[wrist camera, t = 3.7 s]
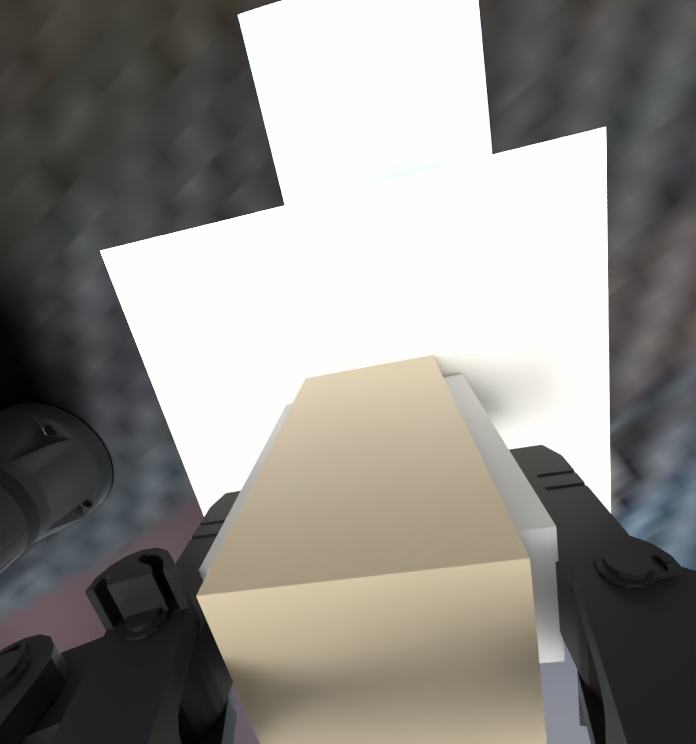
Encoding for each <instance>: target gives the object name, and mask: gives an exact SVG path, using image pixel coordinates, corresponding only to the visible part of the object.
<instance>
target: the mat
mask: <svg viewBox="0 0 696 744" xmlns="http://www.w3.org/2000/svg"><path fill="white" fill-rule="evenodd" d="M238 17H239V21H240V25H241V29H242V33H243V37H244V42H245V46H246V50H247V54H248V58H249V62H250V66H251V70H252V74H253V78H254V82H255V86H256V90H257V94H258V98H259V103H260V107H261V111H262V115H263V119H264V123H265V127H266V131H267V135H268V139H269V143H270V147H271V151H272V155H273V159H274V163H275V168H276V172H277V176H278V180H279V184H280V188H281V192H282V196H283V200H284V204H285V205H289V204H293V203H297V202H301V201H306V200H310V199H314V198H318V197H322V196H326V195H330V194H334V193H338V192H342V191H346V190H350V189H354V188H359V187H363V186H367V185H371V184H375V183H379V182H383V181H387V180H391V179H395V178H399V177H403V176H407V175H412V174H416V173H420V172H424V171H428V170H432V169H436V168H440V167H444V166H448V165H452V164H456V163H461V162H465V161H469V160H473V159H477V158H481V157H485V156H489V155H492V145H491V134H490V123H489V112H488V101H487V90H486V79H485V68H484V57H483V46H482V35H481V24H480V13H479V2H478V0H282V1H279V2H276V3H272V4H269V5H266V6H263V7H260V8H257V9H254V10H251V11H248V12H245V13H242V14H238Z"/></svg>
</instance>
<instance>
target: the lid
mask: <svg viewBox="0 0 696 744" xmlns="http://www.w3.org/2000/svg"><path fill="white" fill-rule="evenodd" d="M100 252H101V255H102V257H103V260H104V262H105V265H106V268H107V270H108V273H109V275H110V278H111V280H112V283H113V285H114V288H115V291H116V293H117V296H118V298H119V301H120V303H121V306H122V308H123V311H124V313H125V316H126V319H127V321H128V324H129V326H130V329H131V331H132V334H133V336H134V339H135V342H136V344H137V347H138V349H139V352H140V354H141V357H142V359H143V362H144V364H145V367H146V370H147V372H148V375H149V377H150V380H151V382H152V385H153V387H154V390H155V393H156V395H157V398H158V400H159V403H160V405H161V408H162V410H163V413H164V415H165V418H166V421H167V423H168V426H169V428H170V431H171V433H172V436H173V438H174V441H175V444H176V446H177V449H178V451H179V454H180V456H181V459H182V461H183V464H184V466H185V469H186V472H187V474H188V477H189V479H190V482H191V484H192V487H193V489H194V492H195V494H196V497H197V500H198V502H199V505H200V507H201V510H202V512H203V515H204V516H205V515H206V513H207V512H208V510H209V508H210V507H211V506H212V505H213V504H214V503H215V502H216V501H218V500H219V499H220V498H221V497H222V496H223V495H224V494H225V493H229V492H235V491H241V489H242V488H243V486H244V484H245V482H246V480H247V478H248V476H249V474H250V472H251V471H252V469H253V467H254V465H255V463H256V461H257V459H258V457H259V455H260V454H261V452H262V450H263V448H264V446H265V444H266V442H267V440H268V438H269V437H270V435H271V433H272V431H273V429H274V427H275V425H276V423H277V421H278V420H279V418H280V416H281V414H282V412H283V410H284V408H285V406H286V405H289V404H292V406H291V408H290V410H289V412H288V414H287V416H286V418H285V420H284V422H283V424H282V426H281V428H280V430H279V432H278V434H277V436H276V438H275V440H274V442H273V444H272V446H271V448H270V450H269V452H268V454H267V456H266V458H265V460H264V462H263V464H262V466H261V468H260V470H259V472H258V474H257V476H256V478H255V480H254V482H253V484H252V486H251V488H250V490H249V492H248V494H247V496H246V498H245V500H244V502H243V504H242V506H241V508H240V510H239V512H238V514H237V515H236V517H235V519H234V521H233V523H232V525H231V527H230V529H229V531H228V533H227V535H226V537H225V539H224V541H223V543H222V545H221V547H220V549H219V551H218V553H217V555H216V557H215V559H214V561H213V563H212V565H211V567H210V569H209V571H208V573H207V575H206V577H205V579H204V581H203V583H202V585H201V587H200V589H199V591H198V593H197V595H196V597H197V599H198V602H199V604H200V606H201V609H202V611H203V613H204V616H205V618H206V620H207V623H208V625H209V627H210V629H211V632H212V634H213V636H214V639H215V641H216V643H217V646H218V648H219V650H220V653H221V655H222V657H223V660H224V662H225V664H226V667H227V669H228V671H229V673H230V676H231V678H232V680H233V683H234V685H235V687H236V690H237V692H238V694H239V696H240V699H241V701H242V704H243V706H244V708H245V710H246V713H247V715H248V717H249V720H250V722H251V724H252V727H253V729H254V731H255V734H256V736H257V738H258V740H259V743H260V744H547V739H546V728H545V718H544V707H543V696H542V685H541V674H540V663H539V652H538V641H537V630H536V619H535V608H534V597H533V586H532V575H531V564H530V557H529V555H528V553H527V551H526V549H525V547H524V545H523V543H522V541H521V538H520V536H519V534H518V532H517V530H516V528H515V526H514V524H513V522H512V520H511V518H510V516H509V513H508V511H507V509H506V507H505V505H504V503H503V501H502V499H501V497H500V495H499V493H498V490H497V488H496V486H495V484H494V482H493V480H492V478H491V476H490V474H489V472H488V470H487V467H486V465H485V463H484V461H483V459H482V457H481V455H480V453H479V451H478V449H477V447H476V444H475V442H474V440H473V438H472V436H471V434H470V432H469V430H468V428H467V426H466V424H465V422H464V419H463V417H462V415H461V413H460V411H459V409H458V407H457V405H456V403H455V401H454V399H453V396H452V394H451V392H450V390H449V388H448V386H447V384H446V382H445V380H444V378H443V377H449V376H454V375H460V374H463V376H464V378H465V379H466V381H467V382H468V384H469V386H470V387H471V389H472V391H473V392H474V394H475V395H476V397H477V399H478V400H479V402H480V404H481V405H482V407H483V408H484V410H485V412H486V413H487V415H488V417H489V418H490V420H491V421H492V423H493V425H494V426H495V428H496V430H497V431H498V433H499V434H500V436H501V438H502V439H503V441H504V443H505V444H506V446H507V447H508V449H515V448H522V447H529V446H536V445H544V446H546V447H548V448H549V449H551V450H553V451H555V452H557V453H559V454H561V455H562V456H563V457H564V458H565V459H566V461H567V462H568V463H569V464H570V465H571V467H572V468H573V469H574V471H575V473H577V474H578V475H579V476H580V477H581V478H582V480H583V481H584V482H585V485H586V486H588V487H589V488H590V489H591V490H592V492H593V493H594V494H595V495H596V496H597V497H598V499H599V500H600V501H601V502H602V503H603V505H604V506H605V507H606V508H607V509H608V511H609V512H610V513H611V496H610V414H609V333H608V252H607V170H606V127H603V128H599V129H595V130H591V131H587V132H583V133H579V134H575V135H571V136H567V137H562V138H558V139H554V140H550V141H546V142H542V143H538V144H534V145H530V146H526V147H522V148H518V149H514V150H509V151H505V152H501V153H497V154H493V155H489V156H485V157H481V158H477V159H473V160H469V161H465V162H461V163H456V164H452V165H448V166H444V167H440V168H436V169H432V170H428V171H424V172H420V173H416V174H412V175H407V176H403V177H399V178H395V179H391V180H387V181H383V182H379V183H375V184H371V185H367V186H363V187H359V188H354V189H350V190H346V191H342V192H338V193H334V194H330V195H326V196H322V197H318V198H314V199H310V200H306V201H301V202H297V203H293V204H289V205H285V206H281V207H277V208H273V209H269V210H265V211H261V212H257V213H253V214H248V215H244V216H240V217H236V218H232V219H228V220H224V221H220V222H216V223H212V224H208V225H204V226H199V227H195V228H191V229H187V230H183V231H179V232H175V233H171V234H167V235H163V236H159V237H155V238H151V239H146V240H142V241H138V242H134V243H130V244H126V245H122V246H118V247H114V248H110V249H106V250H102V251H100Z"/></svg>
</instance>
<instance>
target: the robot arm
mask: <svg viewBox="0 0 696 744" xmlns="http://www.w3.org/2000/svg"><path fill="white" fill-rule="evenodd" d="M443 378H444V380H445V382H446V384H447V386H448V388H449V390H450V392H451V394H452V396H453V399H454V401H455V403H456V405H457V407H458V409H459V411H460V413H461V415H462V417H463V419H464V422H465V424H466V426H467V428H468V430H469V432H470V434H471V436H472V438H473V440H474V442H475V444H476V447H477V449H478V451H479V453H480V455H481V457H482V459H483V461H484V463H485V465H486V467H487V470H488V472H489V474H490V476H491V478H492V480H493V482H494V484H495V486H496V488H497V490H498V493H499V495H500V497H501V499H502V501H503V503H504V505H505V507H506V509H507V511H508V513H509V516H510V518H511V520H512V522H513V524H514V526H515V528H516V530H517V532H518V534H519V536H520V538H521V541H522V543H523V545H524V547H525V549H526V551H527V553H528V555H529V557H530V564H531V575H532V586H533V597H534V608H535V619H536V630H537V641H538V652H539V663H546V662H547V663H548V662H561V661H565V659H564V643H563V639H564V641H565V644H566V646H567V648H568V650H569V652H570V654H571V656H572V659H573V661H574V663H575V665H576V667H577V673H578V694H579V712H580V713H579V715H580V725H582V726H587V730H588V733H589V738H590V742H591V744H696V571H695V570H690V569H687V568H684V567H681V566H680V565H679V564H678V562H677V561H676V560H675V559H674V558H673V557H672V556H671V555H669V554H668V553H666V552H665V551H663V550H662V549H660V548H658V547H657V546H655V545H654V544H652V543H649V542H646V541H643V540H641V539H638V538H635V537H632V536H629V534H628V533H627V532H626V531H625V530H624V528H623V527H622V526H621V525H620V524H619V522H618V521H617V520H616V519H615V518H614V517H613V515H612V514H611V513H610V512H609V511H608V509H607V508H606V507H605V506H604V505H603V503H602V502H601V501H600V500H599V499H598V497H597V496H596V495H595V494H594V493H593V492H592V490H591V489H590V488H589V487H588V486H586V485H585V482H584V481H583V480H582V478H581V477H580V476H579V475H578V474H577V473H575V471H574V469H573V468H572V467H571V465H570V464H569V463H568V462H567V461H566V459H565V458H564V457H563V456H562V455H561V454H559V453H557V452H555V451H553V450H551V449H549V448H548V447H546V446H544V445H536V446H529V447H522V448H515V449H508V447H507V446H506V444H505V443H504V441H503V439H502V438H501V436H500V434H499V433H498V431H497V430H496V428H495V426H494V425H493V423H492V421H491V420H490V418H489V417H488V415H487V413H486V412H485V410H484V408H483V407H482V405H481V404H480V402H479V400H478V399H477V397H476V395H475V394H474V392H473V391H472V389H471V387H470V386H469V384H468V382H467V381H466V379H465V378H464V376H463V374H460V375H454V376H449V377H443ZM291 406H292V404H289V405H286V406H285V408H284V410H283V412H282V414H281V416H280V418H279V420H278V421H277V423H276V425H275V427H274V429H273V431H272V433H271V435H270V437H269V438H268V440H267V442H266V444H265V446H264V448H263V450H262V452H261V454H260V455H259V457H258V459H257V461H256V463H255V465H254V467H253V469H252V471H251V472H250V474H249V476H248V478H247V480H246V482H245V484H244V486H243V488H242V489H241V491H235V492H229V493H225V494H224V495H223V496H222V497H221V498H220V499H219V500H218V501H216V502H215V503H214V504H213V505H212V506H211V507H210V508H209V510H208V512H207V513H206V515H205V516H204V518H203V520H202V521H201V526H199V527H198V528H197V530H196V531H195V533H194V534H193V536H192V540H190V541H189V543H188V544H187V546H186V548H185V549H184V551H183V552H182V554H181V556H180V557H179V559H178V561H177V562H176V564H175V563H174V561H173V559H172V557H171V555H170V554H169V553H168V551H167V550H164V549H160V548H152V549H145V550H141V551H139V552H136V553H134V554H131V555H128V556H126V557H125V558H123V559H121V560H120V561H118V562H116V563H114V564H113V565H111V566H110V567H109V568H107V569H106V570H105V571H104V572H103V573H102V574H100V575H99V576H98V577H97V578H96V579H95V580H94V581H93V583H92V584H91V585H90V586H89V587H88V589H87V590H86V591H85V593H86V594H87V596H88V598H89V600H90V602H91V604H92V606H93V607H94V609H95V611H96V613H97V614H98V616H99V618H100V620H101V622H102V624H103V626H104V627H105V629H106V632H105V635H104V637H101V638H99V639H96V640H93V641H91V642H88V643H86V644H83V645H81V646H78V647H76V648H73V649H70V650H68V651H65V652H62V653H60V652H59V650H58V648H57V647H56V645H55V643H54V642H53V641H52V638H51V637H50V636H45V635H35V636H32V637H27V638H24V639H22V640H20V641H18V642H16V643H14V644H12V645H9V646H8V647H6V648H4V649H2V650H1V651H0V744H233V741H234V733H235V725H236V717H237V712H236V701H235V699H234V696H233V694H232V692H231V686H232V683H233V680H232V678H231V676H230V673H229V671H228V669H227V667H226V664H225V662H224V660H223V657H222V655H221V653H220V650H219V648H218V646H217V643H216V641H215V639H214V636H213V634H212V632H211V629H210V627H209V625H208V623H207V620H206V618H205V616H204V613H203V611H202V609H201V606H200V604H199V602H198V599H197V597H196V595H197V593H198V591H199V589H200V587H201V585H202V583H203V581H204V579H205V577H206V575H207V573H208V571H209V569H210V567H211V565H212V563H213V561H214V559H215V557H216V555H217V553H218V551H219V549H220V547H221V545H222V543H223V541H224V539H225V537H226V535H227V533H228V531H229V529H230V527H231V525H232V523H233V521H234V519H235V517H236V515H237V514H238V512H239V510H240V508H241V506H242V504H243V502H244V500H245V498H246V496H247V494H248V492H249V490H250V488H251V486H252V484H253V482H254V480H255V478H256V476H257V474H258V472H259V470H260V468H261V466H262V464H263V462H264V460H265V458H266V456H267V454H268V452H269V450H270V448H271V446H272V444H273V442H274V440H275V438H276V436H277V434H278V432H279V430H280V428H281V426H282V424H283V422H284V420H285V418H286V416H287V414H288V412H289V410H290V408H291ZM111 484H112V466H111V462H110V459H109V456H108V453H107V451H106V449H105V447H104V446H103V444H102V442H101V441H100V439H99V438H98V437H97V436H96V434H95V433H94V432H93V431H92V430H91V429H90V428H89V427H88V426H87V425H86V424H84V423H83V422H82V421H81V420H79V419H78V418H76V417H75V416H73V415H72V414H70V413H68V412H66V411H64V410H62V409H59V408H56V407H54V406H50V405H46V404H40V403H24V404H19V405H15V406H12V407H10V408H8V409H5V410H3V411H1V412H0V573H1V572H2V571H3V570H4V569H6V568H7V567H8V566H9V565H10V564H11V563H12V562H13V561H14V560H16V559H17V558H18V557H19V556H20V555H21V554H22V553H23V552H24V551H25V550H27V549H28V548H29V547H30V546H31V545H32V544H33V543H35V542H36V541H38V540H40V539H42V538H44V537H47V536H49V535H51V534H53V533H55V532H57V531H59V530H61V529H63V528H65V527H67V526H69V525H71V524H73V523H76V522H78V521H80V520H81V519H83V518H84V517H86V516H87V515H89V514H90V513H91V512H92V511H93V510H94V509H95V508H96V507H97V506H98V505H99V504H100V503H101V502H102V501H103V500H104V499H105V498H106V496H107V495H108V493H109V490H110V488H111Z"/></svg>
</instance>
